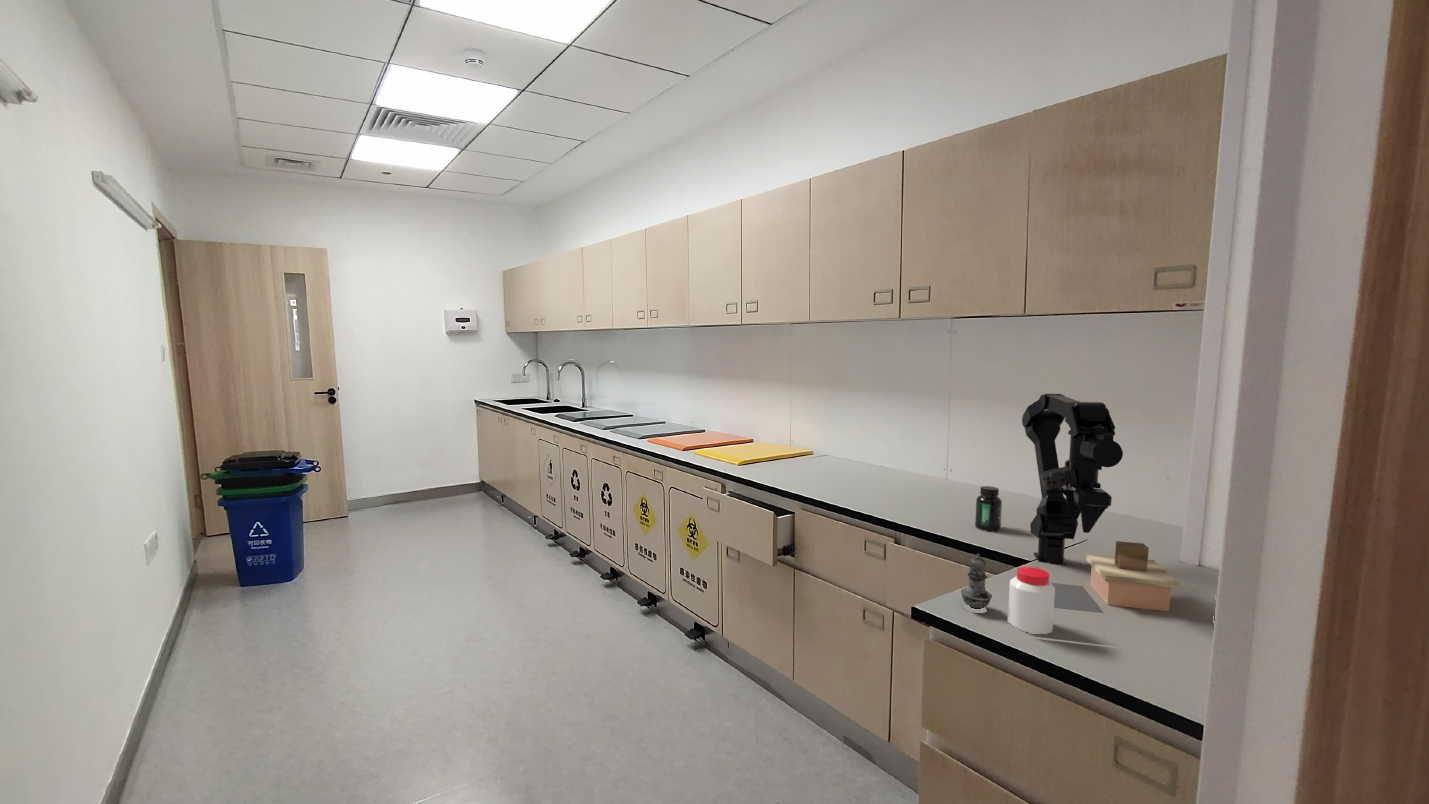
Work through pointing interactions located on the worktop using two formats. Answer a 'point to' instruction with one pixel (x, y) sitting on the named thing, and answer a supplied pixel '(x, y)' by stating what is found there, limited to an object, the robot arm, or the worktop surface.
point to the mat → (1074, 598)
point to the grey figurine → (976, 585)
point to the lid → (1131, 566)
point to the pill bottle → (1031, 601)
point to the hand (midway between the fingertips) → (1079, 526)
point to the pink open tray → (1131, 594)
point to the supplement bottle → (988, 509)
